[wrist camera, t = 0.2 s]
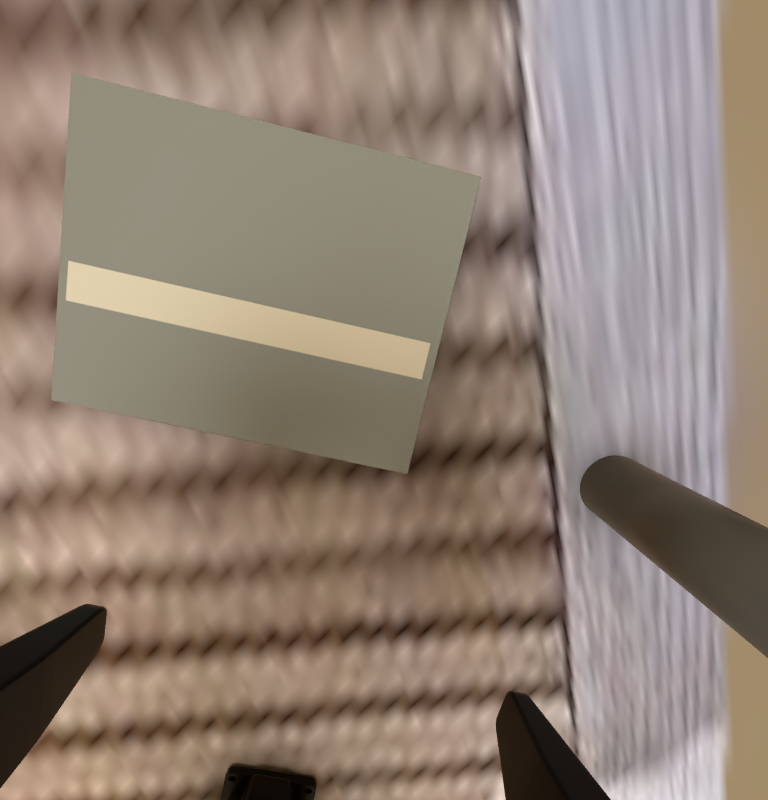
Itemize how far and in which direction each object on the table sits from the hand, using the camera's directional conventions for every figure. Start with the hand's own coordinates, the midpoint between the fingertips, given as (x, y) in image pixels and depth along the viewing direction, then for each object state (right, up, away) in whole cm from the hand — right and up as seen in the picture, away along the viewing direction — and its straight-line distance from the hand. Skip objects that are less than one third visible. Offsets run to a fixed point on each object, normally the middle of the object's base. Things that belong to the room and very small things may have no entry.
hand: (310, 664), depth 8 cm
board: (-5, +12, +12) cm, 18 cm away
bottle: (+16, 0, +15) cm, 22 cm away
